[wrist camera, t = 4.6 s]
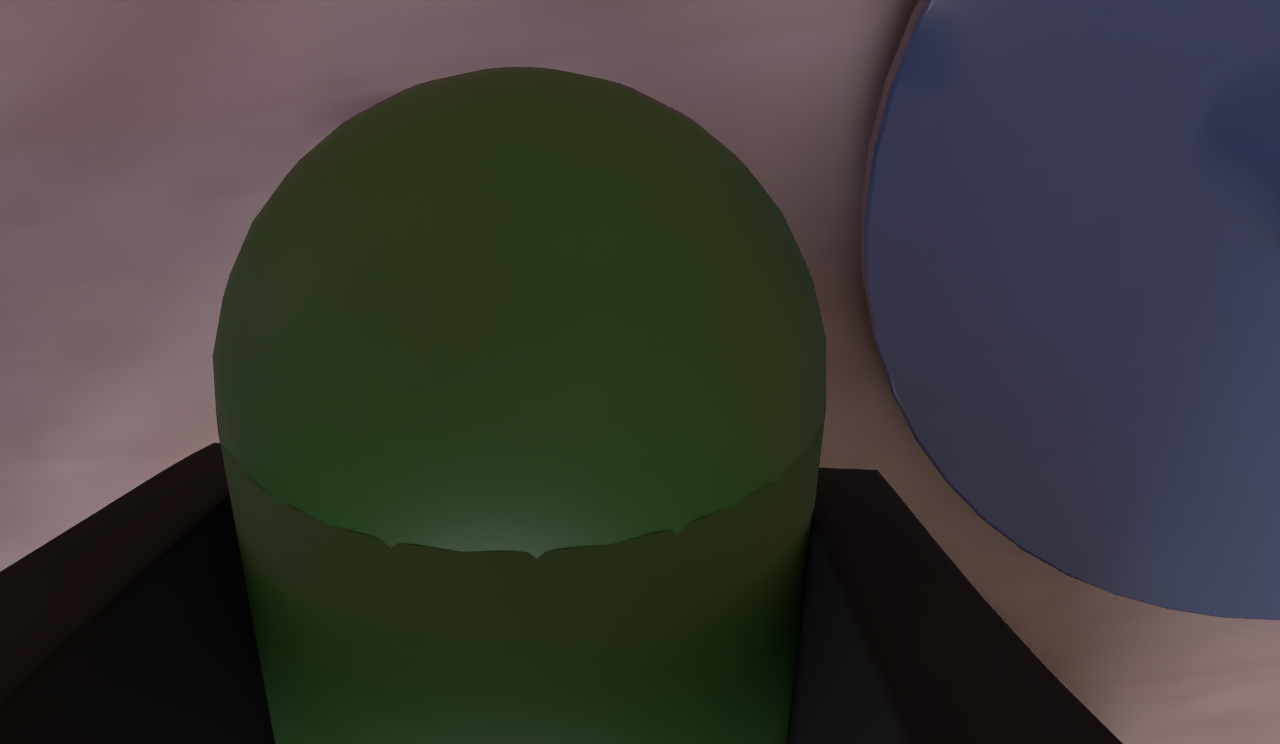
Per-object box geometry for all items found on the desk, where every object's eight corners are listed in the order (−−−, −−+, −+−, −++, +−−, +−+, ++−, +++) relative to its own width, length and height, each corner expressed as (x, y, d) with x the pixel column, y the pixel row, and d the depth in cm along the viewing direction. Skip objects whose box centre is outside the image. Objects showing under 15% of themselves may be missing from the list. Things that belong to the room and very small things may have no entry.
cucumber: (309, 4, 9) (-5, 159, 5) (837, 25, 8) (899, 201, 5) (395, 759, 12) (250, 1153, 9) (759, 790, 12) (763, 1210, 8)
